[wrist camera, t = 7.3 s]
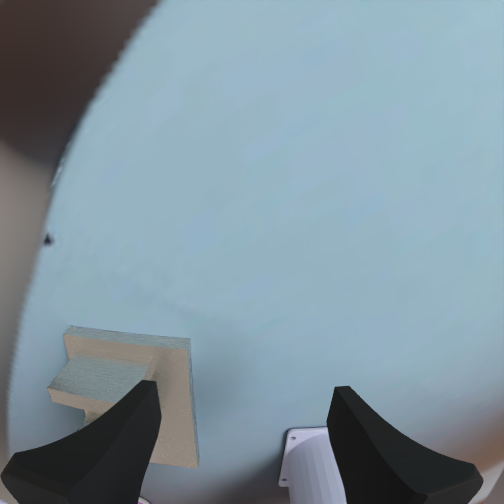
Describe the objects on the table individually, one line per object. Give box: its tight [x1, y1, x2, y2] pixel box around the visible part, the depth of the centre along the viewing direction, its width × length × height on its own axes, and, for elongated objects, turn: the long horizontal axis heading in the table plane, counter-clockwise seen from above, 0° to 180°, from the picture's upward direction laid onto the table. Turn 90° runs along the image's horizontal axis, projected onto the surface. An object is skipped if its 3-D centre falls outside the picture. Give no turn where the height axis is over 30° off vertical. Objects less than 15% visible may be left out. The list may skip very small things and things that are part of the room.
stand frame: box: [48, 326, 200, 468], centre depth 21 cm, size 14×10×7 cm
